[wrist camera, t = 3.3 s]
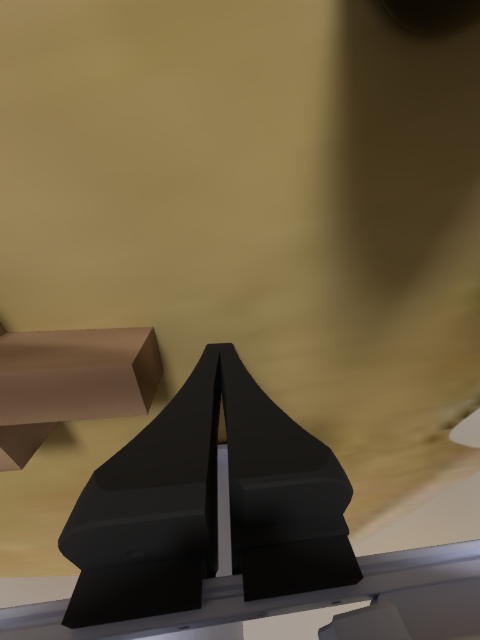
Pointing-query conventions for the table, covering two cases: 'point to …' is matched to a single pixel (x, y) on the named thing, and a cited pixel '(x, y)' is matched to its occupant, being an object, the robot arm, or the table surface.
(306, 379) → the table surface
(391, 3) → the supplement bottle
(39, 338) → the t block
